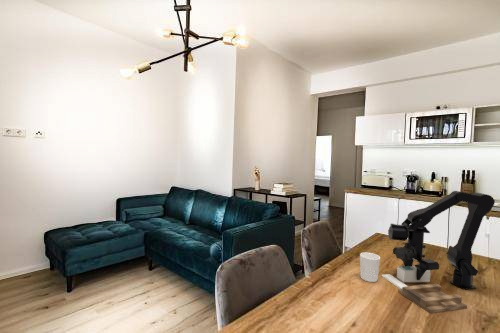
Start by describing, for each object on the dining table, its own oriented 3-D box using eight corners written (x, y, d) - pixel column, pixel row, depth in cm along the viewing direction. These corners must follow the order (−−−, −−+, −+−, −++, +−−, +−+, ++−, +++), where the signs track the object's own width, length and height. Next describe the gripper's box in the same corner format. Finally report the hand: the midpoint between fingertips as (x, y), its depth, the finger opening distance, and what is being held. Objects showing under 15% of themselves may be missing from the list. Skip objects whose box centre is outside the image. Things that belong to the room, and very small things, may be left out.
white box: (421, 277, 118) (422, 265, 117) (429, 281, 113) (430, 269, 113) (396, 277, 116) (397, 265, 116) (403, 282, 112) (404, 269, 111)
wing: (389, 276, 118) (389, 274, 118) (410, 290, 106) (410, 287, 106) (381, 277, 117) (381, 274, 117) (401, 291, 105) (401, 288, 105)
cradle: (431, 288, 107) (431, 281, 107) (466, 308, 93) (467, 300, 93) (398, 291, 103) (398, 284, 103) (430, 313, 90) (430, 304, 90)
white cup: (367, 283, 109) (368, 260, 109) (355, 275, 117) (356, 253, 116) (383, 282, 111) (384, 258, 111) (370, 273, 119) (371, 251, 119)
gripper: (383, 235, 121) (381, 269, 122) (418, 250, 103) (415, 289, 104) (404, 234, 124) (402, 267, 124) (441, 249, 105) (438, 287, 106)
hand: (413, 277), depth 115 cm, fingers closed on white box, 5 cm apart
